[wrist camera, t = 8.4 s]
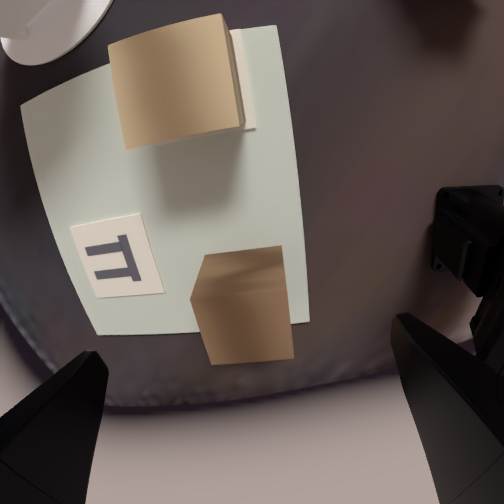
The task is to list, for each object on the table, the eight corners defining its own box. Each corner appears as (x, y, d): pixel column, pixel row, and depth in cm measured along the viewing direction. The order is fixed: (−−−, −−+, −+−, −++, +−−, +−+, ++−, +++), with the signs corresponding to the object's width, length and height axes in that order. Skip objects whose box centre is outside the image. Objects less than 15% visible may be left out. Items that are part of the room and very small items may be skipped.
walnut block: (281, 245, 20) (287, 289, 15) (288, 307, 22) (294, 358, 18) (204, 254, 20) (189, 299, 16) (220, 314, 23) (211, 364, 18)
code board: (275, 27, 14) (276, 24, 13) (308, 316, 23) (309, 323, 22) (25, 104, 16) (18, 106, 15) (100, 330, 25) (96, 336, 24)
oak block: (232, 37, 14) (221, 13, 9) (245, 120, 16) (239, 126, 12) (146, 57, 14) (107, 45, 10) (160, 136, 17) (126, 150, 12)
